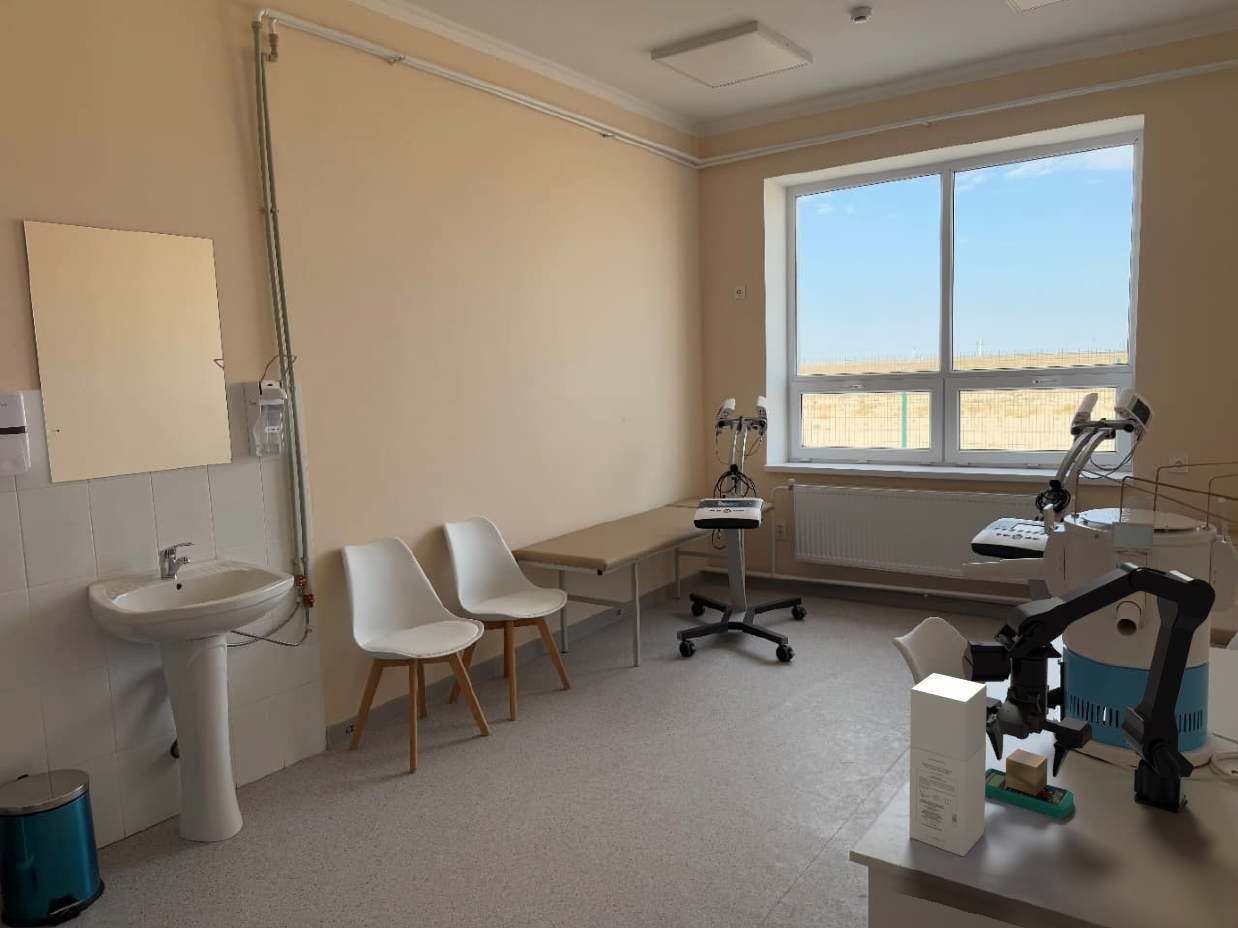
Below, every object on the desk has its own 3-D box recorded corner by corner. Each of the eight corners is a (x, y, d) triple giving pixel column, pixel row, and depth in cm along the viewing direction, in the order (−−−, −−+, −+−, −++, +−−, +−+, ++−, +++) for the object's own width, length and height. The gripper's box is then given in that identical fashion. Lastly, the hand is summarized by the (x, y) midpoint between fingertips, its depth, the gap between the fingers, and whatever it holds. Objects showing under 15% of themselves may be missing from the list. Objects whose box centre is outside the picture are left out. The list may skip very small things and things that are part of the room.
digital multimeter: (1064, 824, 141) (1065, 807, 141) (972, 796, 151) (973, 780, 151) (1077, 806, 147) (1077, 790, 146) (987, 779, 157) (987, 764, 156)
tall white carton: (984, 833, 139) (987, 684, 136) (963, 857, 132) (966, 702, 129) (931, 814, 145) (932, 672, 142) (908, 837, 138) (909, 688, 135)
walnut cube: (1046, 784, 148) (1047, 757, 148) (1035, 795, 145) (1036, 767, 144) (1017, 775, 152) (1017, 748, 151) (1005, 785, 149) (1006, 758, 148)
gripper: (954, 681, 147) (953, 767, 149) (1071, 710, 134) (1069, 804, 136) (981, 663, 155) (979, 745, 157) (1094, 689, 142) (1091, 778, 144)
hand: (1026, 767), depth 148 cm, fingers open, 9 cm apart
